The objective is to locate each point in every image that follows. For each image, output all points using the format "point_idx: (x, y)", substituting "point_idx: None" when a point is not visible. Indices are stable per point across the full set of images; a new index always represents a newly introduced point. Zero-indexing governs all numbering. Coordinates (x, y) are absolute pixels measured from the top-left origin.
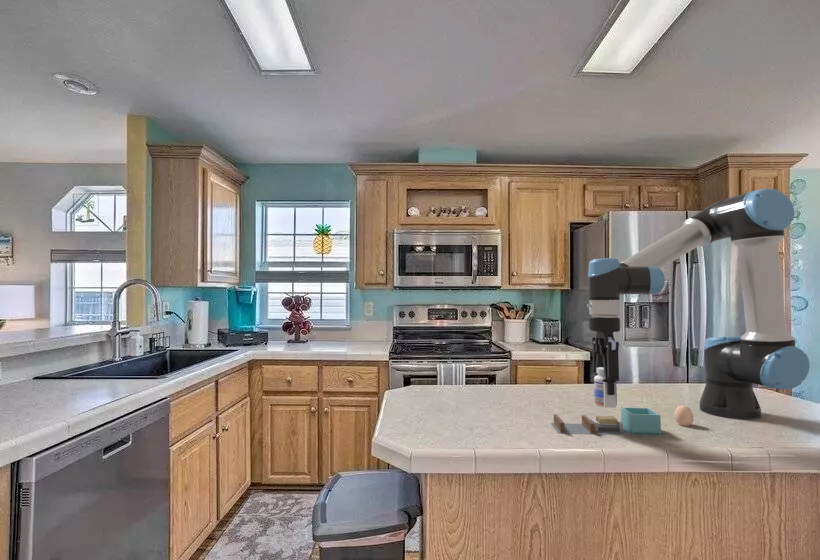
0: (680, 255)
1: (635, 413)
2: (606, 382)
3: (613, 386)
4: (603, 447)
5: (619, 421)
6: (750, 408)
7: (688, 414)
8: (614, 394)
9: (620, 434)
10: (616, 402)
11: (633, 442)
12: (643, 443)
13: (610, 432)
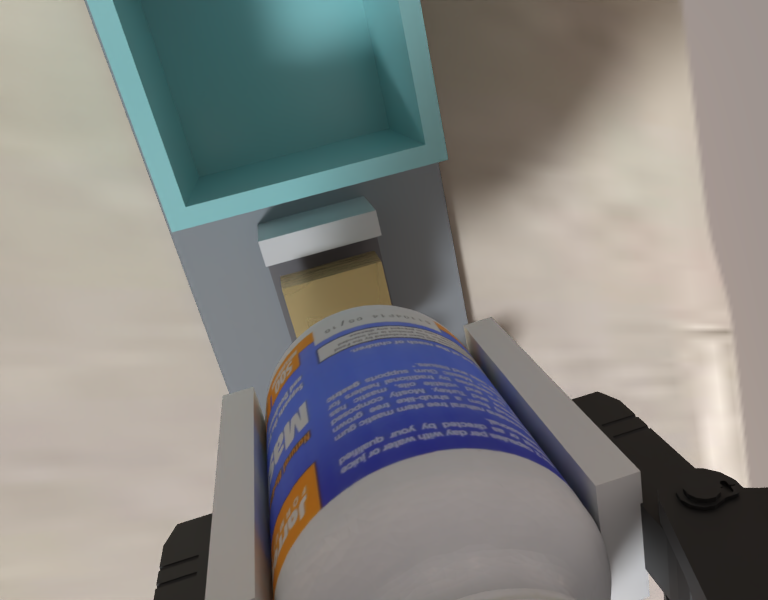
0: None
1: (148, 74)
2: (642, 568)
3: (672, 460)
4: (669, 325)
5: (324, 233)
6: None
7: None
8: (549, 389)
9: (434, 220)
10: (422, 320)
11: (548, 147)
12: (555, 81)
13: (407, 283)
